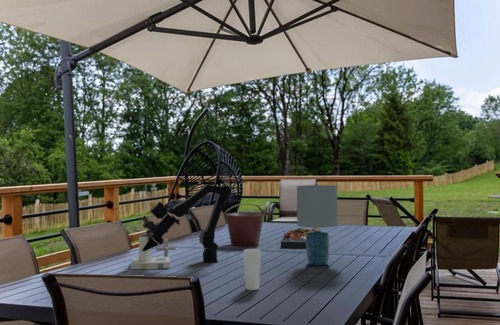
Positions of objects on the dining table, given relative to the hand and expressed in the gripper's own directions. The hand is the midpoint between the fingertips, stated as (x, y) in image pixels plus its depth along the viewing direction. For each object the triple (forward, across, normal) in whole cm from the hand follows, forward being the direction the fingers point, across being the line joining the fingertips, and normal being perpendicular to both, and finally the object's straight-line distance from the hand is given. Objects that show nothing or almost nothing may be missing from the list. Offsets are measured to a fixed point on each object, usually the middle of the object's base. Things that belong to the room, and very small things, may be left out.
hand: (142, 249), depth 232 cm
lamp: (-50, +28, +62) cm, 85 cm away
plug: (+4, 0, +6) cm, 7 cm away
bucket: (-42, -41, +54) cm, 79 cm away
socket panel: (+3, +1, +9) cm, 9 cm away
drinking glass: (-18, +60, +30) cm, 69 cm away
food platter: (-67, -36, +81) cm, 111 cm away
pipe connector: (-5, -18, +16) cm, 25 cm away
